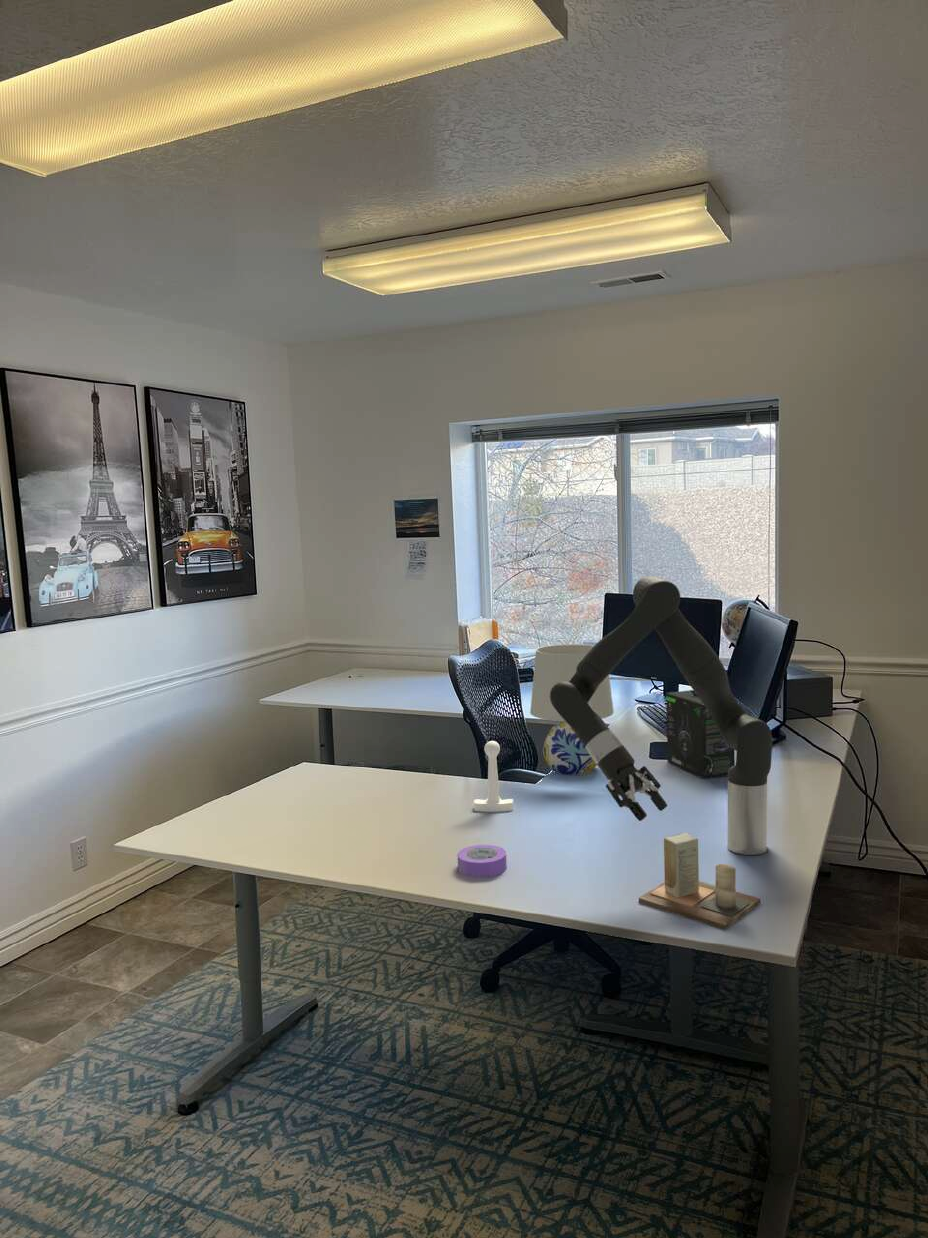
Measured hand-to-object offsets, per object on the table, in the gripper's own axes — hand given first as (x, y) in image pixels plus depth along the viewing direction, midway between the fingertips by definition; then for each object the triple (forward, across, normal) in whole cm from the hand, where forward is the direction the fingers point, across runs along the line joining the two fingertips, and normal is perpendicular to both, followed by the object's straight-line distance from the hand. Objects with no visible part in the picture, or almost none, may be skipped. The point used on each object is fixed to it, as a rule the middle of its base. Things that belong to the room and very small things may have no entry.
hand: (654, 813), depth 195 cm
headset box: (-14, +91, +39) cm, 100 cm away
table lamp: (-37, +65, +62) cm, 97 cm away
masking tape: (-14, -15, +40) cm, 45 cm away
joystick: (-34, +20, +58) cm, 70 cm away
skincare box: (+16, 0, +7) cm, 18 cm away
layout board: (+20, 0, +4) cm, 21 cm away
